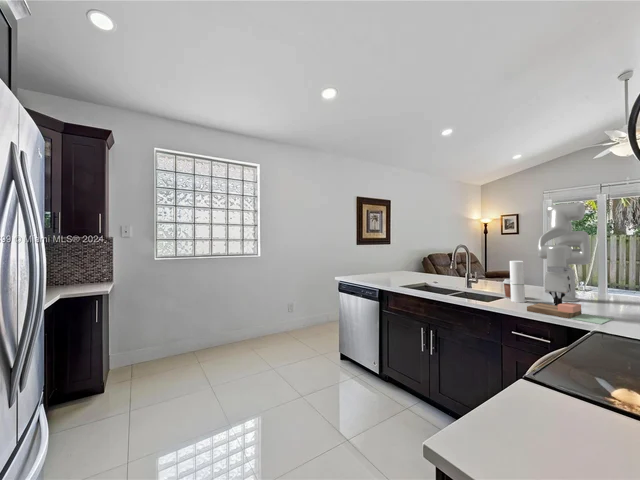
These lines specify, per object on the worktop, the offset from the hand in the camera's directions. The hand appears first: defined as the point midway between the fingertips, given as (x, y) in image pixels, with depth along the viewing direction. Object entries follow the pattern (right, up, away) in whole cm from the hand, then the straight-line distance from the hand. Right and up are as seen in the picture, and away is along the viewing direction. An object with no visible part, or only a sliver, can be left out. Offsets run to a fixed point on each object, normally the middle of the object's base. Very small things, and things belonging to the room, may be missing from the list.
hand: (558, 305), depth 145 cm
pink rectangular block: (+2, 0, -4) cm, 5 cm away
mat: (+7, -4, -11) cm, 13 cm away
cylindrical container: (0, -5, +30) cm, 30 cm away
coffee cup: (+4, -5, +41) cm, 41 cm away
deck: (-1, -4, +2) cm, 5 cm away
